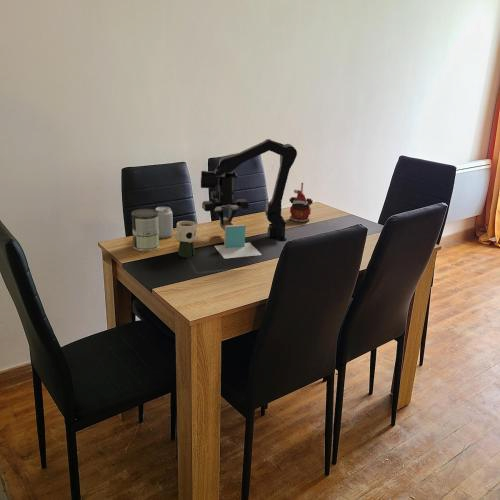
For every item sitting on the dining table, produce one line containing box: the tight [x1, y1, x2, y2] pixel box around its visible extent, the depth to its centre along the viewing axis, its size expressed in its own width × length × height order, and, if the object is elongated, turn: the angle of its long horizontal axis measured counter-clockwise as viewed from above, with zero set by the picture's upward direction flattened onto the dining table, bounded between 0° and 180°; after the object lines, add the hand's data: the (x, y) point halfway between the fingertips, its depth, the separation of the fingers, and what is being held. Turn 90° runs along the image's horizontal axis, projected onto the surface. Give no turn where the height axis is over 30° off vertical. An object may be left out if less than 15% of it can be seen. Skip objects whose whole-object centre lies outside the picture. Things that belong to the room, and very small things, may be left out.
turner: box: [219, 216, 234, 232], centre depth 206 cm, size 2×16×4 cm, turn 19°
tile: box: [223, 223, 247, 248], centre depth 199 cm, size 8×2×9 cm, turn 110°
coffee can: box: [130, 208, 160, 252], centre depth 198 cm, size 10×10×14 cm
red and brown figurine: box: [289, 182, 313, 223], centre depth 237 cm, size 11×9×18 cm
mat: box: [214, 242, 263, 260], centre depth 197 cm, size 15×14×1 cm
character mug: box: [175, 220, 197, 258], centre depth 190 cm, size 11×7×13 cm, turn 145°
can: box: [155, 206, 174, 239], centre depth 210 cm, size 8×8×12 cm
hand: (225, 224), depth 210 cm, fingers closed on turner, 2 cm apart
